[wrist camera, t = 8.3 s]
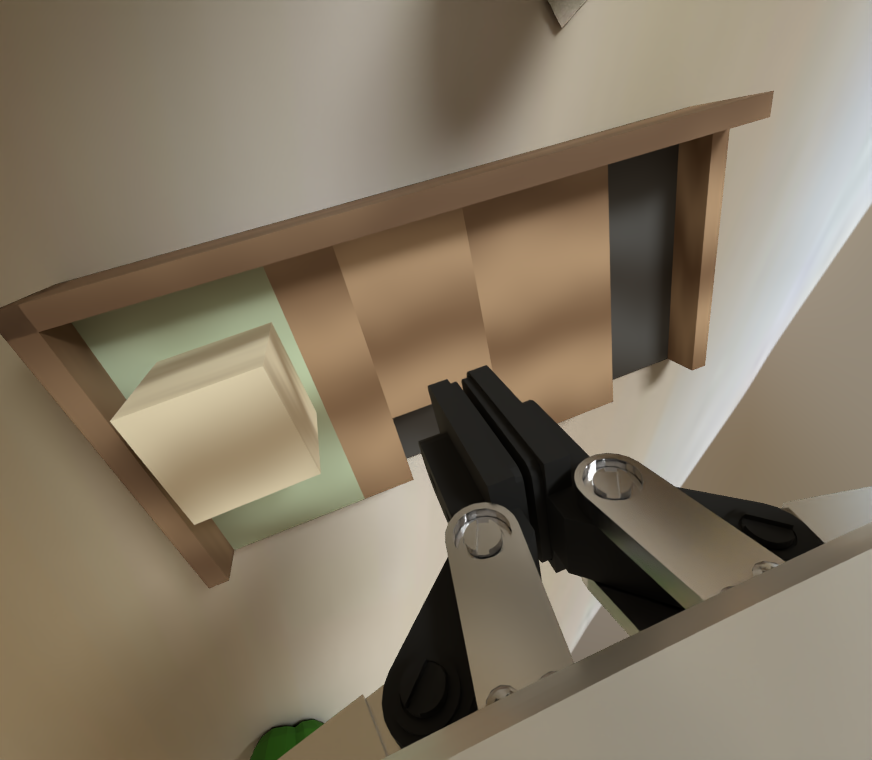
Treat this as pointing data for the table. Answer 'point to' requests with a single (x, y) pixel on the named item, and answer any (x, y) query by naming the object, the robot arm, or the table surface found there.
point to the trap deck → (411, 307)
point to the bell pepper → (283, 740)
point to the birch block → (223, 423)
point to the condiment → (565, 9)
